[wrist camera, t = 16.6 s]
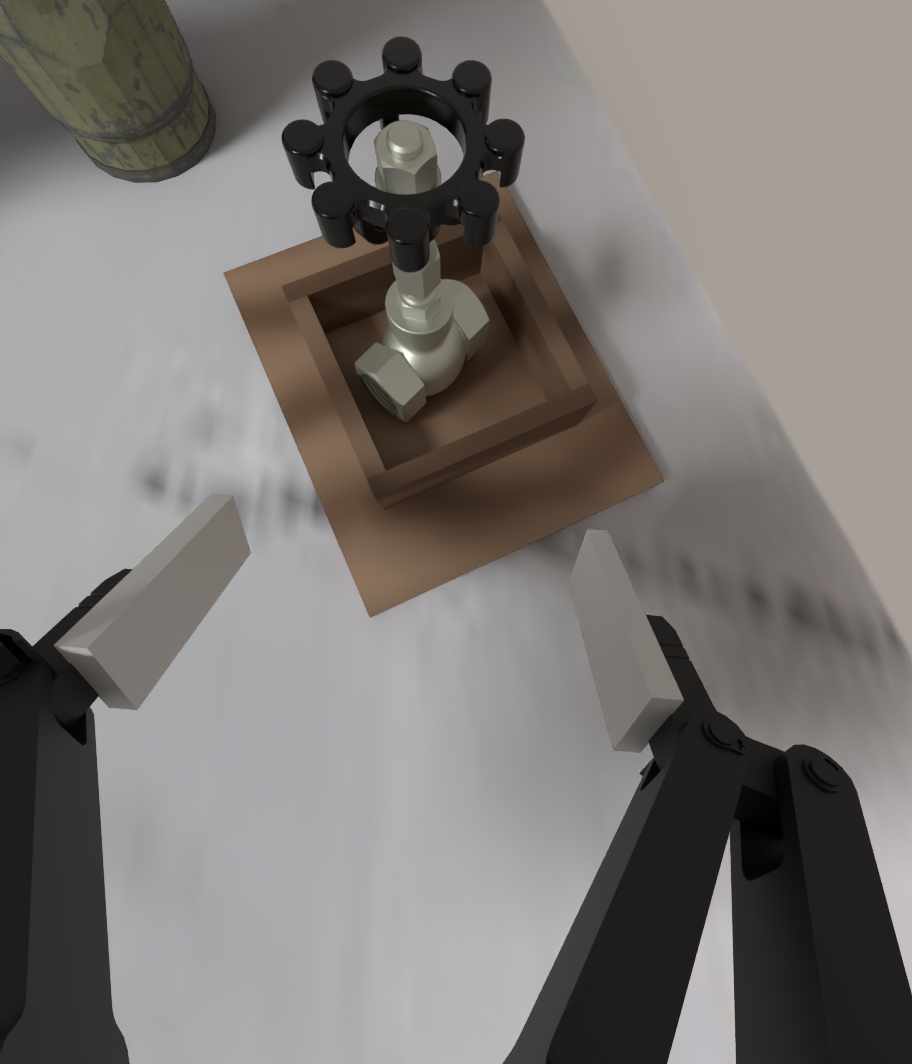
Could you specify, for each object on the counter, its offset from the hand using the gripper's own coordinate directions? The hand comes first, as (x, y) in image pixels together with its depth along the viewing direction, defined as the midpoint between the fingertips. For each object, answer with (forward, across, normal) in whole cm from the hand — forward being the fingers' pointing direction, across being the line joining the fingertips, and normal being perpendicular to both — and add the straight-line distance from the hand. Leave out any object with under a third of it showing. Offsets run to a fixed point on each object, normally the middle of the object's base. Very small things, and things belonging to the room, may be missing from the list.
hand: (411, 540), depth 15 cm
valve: (+12, -1, +3) cm, 12 cm away
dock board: (+12, 0, +2) cm, 13 cm away
